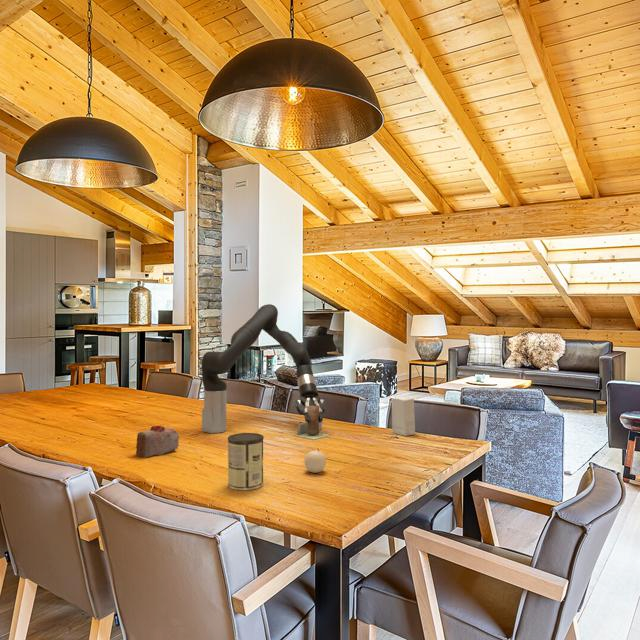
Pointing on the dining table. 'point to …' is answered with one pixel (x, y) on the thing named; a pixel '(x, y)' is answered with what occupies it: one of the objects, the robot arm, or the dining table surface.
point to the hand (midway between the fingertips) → (314, 421)
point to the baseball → (315, 461)
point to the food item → (156, 441)
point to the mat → (313, 436)
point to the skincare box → (403, 416)
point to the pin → (313, 419)
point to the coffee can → (245, 461)
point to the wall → (305, 428)
